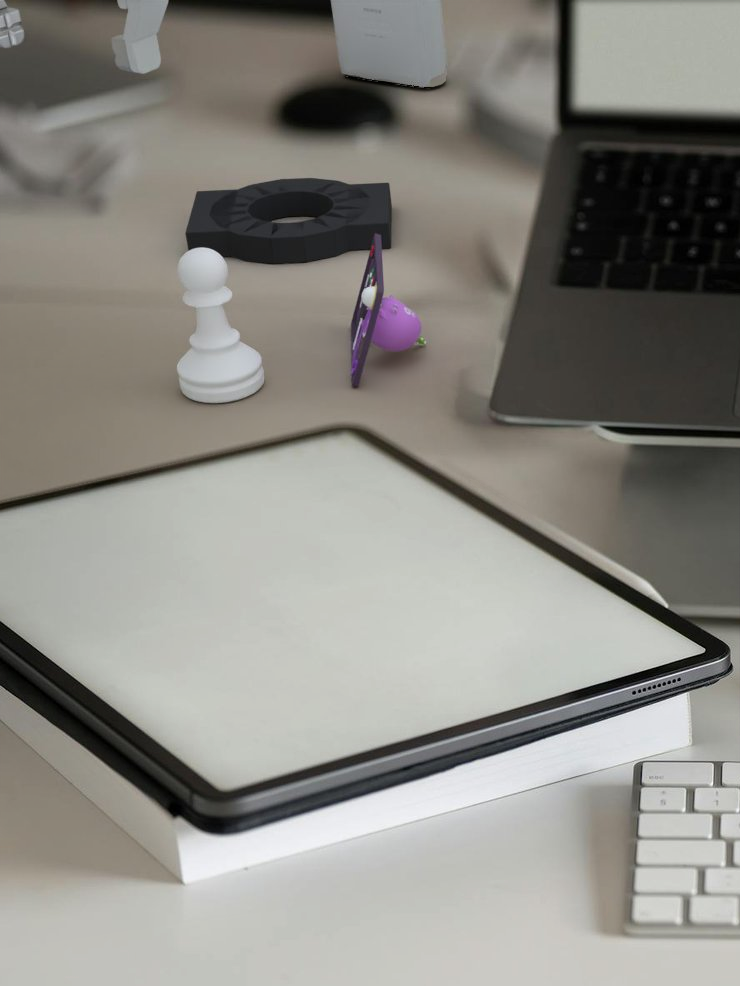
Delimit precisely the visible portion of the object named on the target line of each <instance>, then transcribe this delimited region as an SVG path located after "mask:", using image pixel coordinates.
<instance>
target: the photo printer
mask: <svg viewBox="0 0 740 986" xmlns="http://www.w3.org/2000/svg"><path fill="white" fill-rule="evenodd" d="M330 5H331V12H332V19H333V27H334V36H335V43H336V50H337V57H338V63H339V64H338V65H339V69H340V73H341V75H343V74H348V75H356V76H360V77H363V78H367V79H372V80H374V79H376V80H377V79H388V80H389V81H390V80H392V81H395V82H397V83H400V84H401V83H403V84H408V85H410V84H411V85H412V86H411V87H414V86H419V87H418V88H424V87H428V86H429V85H430V83H429V82H430V80H431V79H432V78H434V77H436V76H438V75H441V74H442V73H444V71H445V67H446V66H447V67H448V60H447V50H446V49H447V48H446V42H445V40H446V39H445V31H444V22H443V21H444V20H443V11H442V1H441V0H330ZM372 80H371V81H372ZM400 84H399V85H400ZM413 85H414V86H413Z"/></svg>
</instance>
